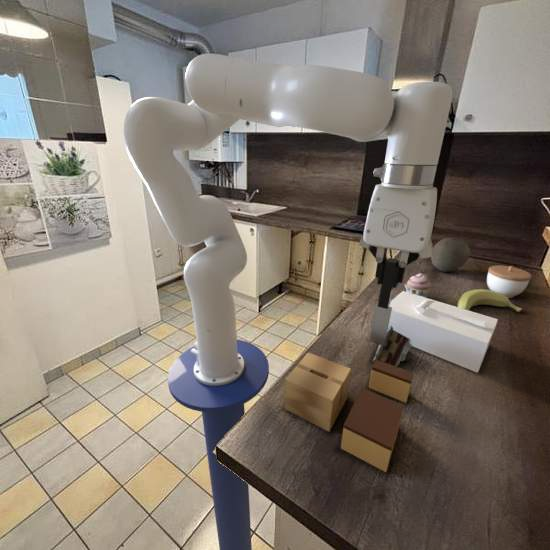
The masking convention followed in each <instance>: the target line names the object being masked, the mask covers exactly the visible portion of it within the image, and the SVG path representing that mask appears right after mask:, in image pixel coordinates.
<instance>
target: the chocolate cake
mask: <svg viewBox="0 0 550 550" xmlns="http://www.w3.org/2000/svg"><path fill="white" fill-rule="evenodd" d="M410 341H411V340H410V339H409V338H407V337H405V336H404V335H402V334H400V333H398V332H396V331H394V330H393V327H392V324H391V326H390V327H389V328H388V331H387V336H386V341H385V346H383V345H379V344H378V347H377V350H376V352H375V355H374V357H373V359H372V362H375V360H379V361H382V362H384V363H387V364H390V365H393V366H396V367H398V366H399V364H400V362H406V361H407V359H406V358H407V354H408V352H409V351H410V349H411V347H413V346H412V345H411V344H410Z"/></svg>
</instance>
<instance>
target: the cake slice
mask: <svg viewBox="0 0 550 550" xmlns="http://www.w3.org/2000/svg"><path fill="white" fill-rule="evenodd" d="M414 374H415V373H414V372H413V371H410V370H408V369H404V368H402V367H398V366H393V365H390V364H387V363H385V362H382V361H381V360H380V359H378V360H375V361H373V364H372V366H371V373H370V378H369V384H368V388H369V389H371V390H373V391H375V392H378V393H380V394H383V395H386V396H388V397H390V398H392V399H395V400H397V401H400V402H403V403H405V404H407V402H408V397H409V395H410V391H411V386H412V382H413V378H414Z"/></svg>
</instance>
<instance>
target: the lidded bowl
mask: <svg viewBox="0 0 550 550" xmlns="http://www.w3.org/2000/svg"><path fill="white" fill-rule="evenodd" d="M487 271H488V272H487V275H486V285H487V287H488V290H491V291H495V292H499V293H501V294H503V295H505V296H506V297H507V298H508V299H512V298H514V297H516V296H519V295H520V294H522V293H523V292H524V291H525V290H526V289H527V287H528V285H529V282H530V281H531V279H532V277H533V276H532V274H531V273H530V272H529V271H527V270H524V269H521V268H518V267H514V266H513V265H509V266H508V265H492V266H490V267H488V270H487Z"/></svg>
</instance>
